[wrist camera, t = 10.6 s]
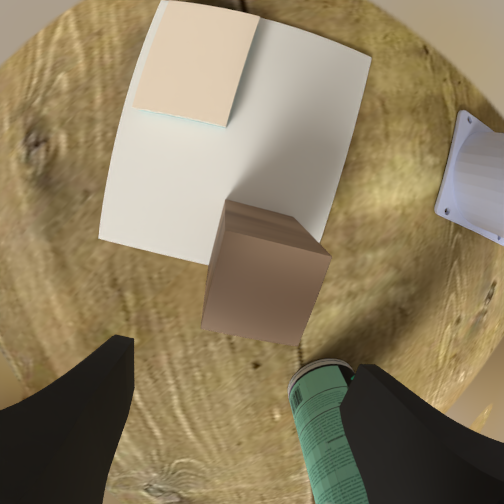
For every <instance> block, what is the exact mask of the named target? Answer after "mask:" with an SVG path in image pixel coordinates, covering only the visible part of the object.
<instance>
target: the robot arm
mask: <svg viewBox="0 0 504 504" xmlns="http://www.w3.org/2000/svg"><path fill="white" fill-rule="evenodd" d="M468 119H469V122H468ZM446 208H447V211H446V213H445V209H446ZM435 213H436V214H437V215H439V216H441V217H444V218H446V219H448V220H450V221H452V222H455V223H457V224H459V225H461V226H463V227H466V228H468V229H470V230H472V231H474V232H476V233H478V234H480V235H482V236H484V237H486V238H488V239H490V240H492V241H494V242H496V243H498V244H500V245H502V246H504V133H497V132H494V131H493V130H491V129H490V128H489V127H488V126H486V125H485V124H484V123H482V122H481V121H480V120H478V119H477V118H476V117H474V116H473V115H471V114H470V113H469V112H467V111H465V110H460V111H459V112H458V115H457V121H456V126H455V131H454V135H453V140H452V144H451V149H450V153H449V157H448V161H447V165H446V169H445V173H444V177H443V180H442V184H441V187H440V191H439V194H438V198H437V201H436V204H435ZM134 388H135V387H134V338H129V337H124V336H120V335H114V336H112V337H111V338H110V339H108V340H107V341H106V342H105V343H104V344H102V345H101V346H100V347H99V348H98V349H96V350H95V351H94V352H93V353H91V354H90V355H89V356H88V357H87V358H85V359H84V360H83V361H81V362H80V363H79V364H78V365H76V366H75V367H74V368H72V369H71V370H70V371H68V372H67V373H66V374H64V375H63V376H61V377H60V378H58V379H57V380H56V381H54V382H53V383H51V384H50V385H48V386H47V387H45V388H44V389H42V390H40V391H39V392H37V393H35V394H34V395H32V396H30V397H28V398H26V399H24V400H23V401H21V402H19V403H16V404H14V405H12V406H10V407H7V408H5V409H3V410H0V504H102V503H103V497H104V491H105V486H106V481H107V477H108V473H109V469H110V466H111V463H112V460H113V457H114V454H115V452H116V449H117V446H118V443H119V440H120V437H121V434H122V431H123V429H124V426H125V423H126V420H127V417H128V414H129V410H130V405H131V401H132V397H133V392H134ZM339 410H340V415H341V420H342V424H343V429H344V433H345V435H346V438H347V441H348V444H349V446H350V449H351V452H352V454H353V457H354V459H355V462H356V465H357V467H358V470H359V473H360V475H361V478H362V480H363V483H364V487H365V490H366V493H367V498H368V502H369V504H504V443H502V442H499V441H496V440H494V439H491V438H488V437H486V436H484V435H481V434H479V433H477V432H475V431H473V430H471V429H469V428H467V427H465V426H463V425H461V424H459V423H457V422H456V421H454V420H452V419H450V418H449V417H447V416H446V415H444V414H443V413H441V412H440V411H438V410H437V409H435V408H434V407H432V406H431V405H430V404H428V403H427V402H425V401H424V400H423V399H421V398H420V397H419V396H417V395H416V394H415V393H413V392H412V391H411V390H409V389H408V388H407V387H405V386H404V385H403V384H402V383H400V382H399V381H398V380H396V379H395V378H394V377H392V376H391V375H390V374H388V373H387V372H385V371H384V370H383V369H381V368H380V367H378V366H376V365H373V364H360V365H359V367H358V369H357V371H356V374H355V376H354V378H353V380H352V382H351V384H350V386H349V388H348V390H347V392H346V394H345V396H344V398H343V400H342V402H341V404H340V406H339Z"/></svg>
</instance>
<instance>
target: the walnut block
mask: <svg viewBox="0 0 504 504" xmlns="http://www.w3.org/2000/svg"><path fill="white" fill-rule="evenodd" d="M331 259H332V256H331V255H330V254H329V253H328V252H327V251H326V250H325V249H324V248H323V247H322V246H321V245H320V244H319V242H318V241H317V240H316V239H315V238H314V237H313V236H312V235H311V234H310V233H309V232H308V231H307V230H306V229H305V228H304V227H303V226H302V225H301V224H300V223H299V222H298V221H297V220H296V219H295V218H294V217H292V216H288V215H285V214H281V213H277V212H273V211H270V210H266V209H262V208H258V207H254V206H250V205H247V204H243V203H239V202H235V201H231V200H227V199H225V202H224V206H223V210H222V214H221V218H220V221H219V225H218V229H217V233H216V237H215V241H214V245H213V249H212V253H211V257H210V262H209V266H208V274H207V281H206V289H205V297H204V305H203V313H202V321H201V329H205V330H209V331H214V332H219V333H224V334H229V335H234V336H239V337H245V338H250V339H256V340H261V341H267V342H273V343H279V344H285V345H292V346H298V344H299V342H300V340H301V337H302V335H303V332H304V330H305V327H306V325H307V322H308V320H309V317H310V315H311V312H312V310H313V307H314V304H315V302H316V299H317V297H318V294H319V291H320V289H321V286H322V283H323V281H324V278H325V275H326V272H327V270H328V267H329V264H330V261H331Z"/></svg>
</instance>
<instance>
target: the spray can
mask: <svg viewBox="0 0 504 504" xmlns="http://www.w3.org/2000/svg"><path fill="white" fill-rule="evenodd" d="M354 376H355V373H354V371H353V369H352V368H351V367H350V365H349V364H347V363H346V362H345V361H342V360H339V359H321V360H317V361H314V362H312V363H310V364H307V365H306V366H304V367H303V368H301V369H300V370H299V371H298V372H296V373H295V375H294V376H293V377H292V379H291V380H290V382H289V385H288V397H289V401H290V405H291V409H292V413H293V416H294V420H295V424H296V428H297V432H298V436H299V440H300V444H301V448H302V452H303V456H304V460H305V464H306V467H307V471H308V475H309V479H310V483H311V487H312V491H313V495H314V499H315V503H316V504H369V502H368V498H367V493H366V490H365V487H364V483H363V480H362V478H361V475H360V473H359V470H358V467H357V465H356V462H355V459H354V457H353V454H352V452H351V449H350V446H349V444H348V441H347V438H346V435H345V433H344V429H343V424H342V420H341V415H340V410H339V406H340V404H341V402H342V400H343V398H344V396H345V394H346V392H347V390H348V388H349V386H350V384H351V382H352V380H353V378H354Z"/></svg>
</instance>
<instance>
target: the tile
mask: <svg viewBox="0 0 504 504" xmlns="http://www.w3.org/2000/svg"><path fill="white" fill-rule="evenodd" d="M259 19H260V16H256V15H252V14H248V13H244V12H239V11H235V10H230V9H225V8H220V7H214V6H208V5H202V4H196V3H189V2H181V1H172V0H169V2H168V5H167V7H166V9H165V12H164V14H163V17H162V19H161V21H160V24H159V27H158V29H157V32H156V34H155V37H154V40H153V42H152V45H151V48H150V51H149V54H148V56H147V59H146V62H145V65H144V68H143V71H142V75H141V78H140V81H139V84H138V87H137V91H136V94H135V98H134V101H133V105H132V107H133V108H135V109H137V110H140V111H146V112H152V113H157V114H163V115H168V116H173V117H178V118H183V119H188V120H192V121H197V122H201V123H206V124H210V125H215V126H219V127H223V128H226V126H227V123H228V119H229V116H230V112H231V109H232V105H233V102H234V99H235V95H236V92H237V89H238V85H239V82H240V79H241V76H242V72H243V69H244V66H245V63H246V60H247V57H248V53H249V50H250V47H251V44H252V41H253V38H254V35H255V32H256V29H257V26H258V23H259Z"/></svg>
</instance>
